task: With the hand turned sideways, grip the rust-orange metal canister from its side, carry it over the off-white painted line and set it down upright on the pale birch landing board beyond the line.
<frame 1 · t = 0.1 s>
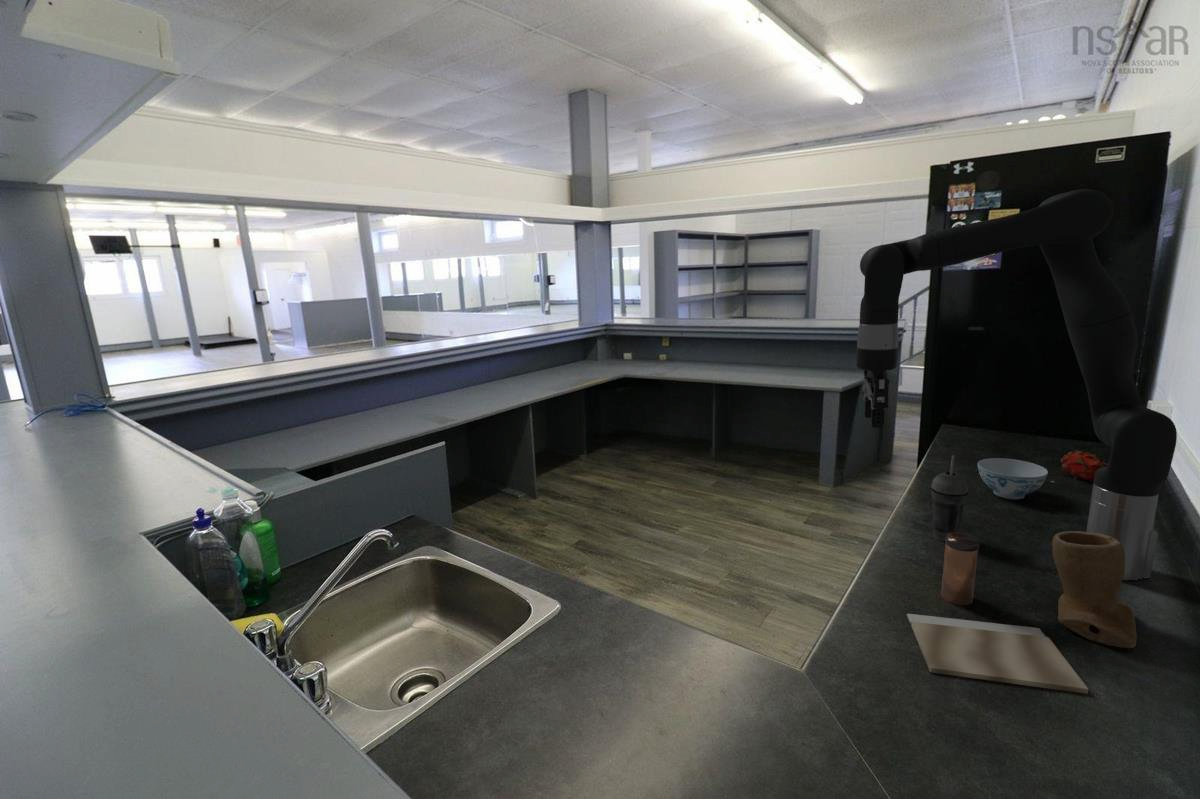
hand: (873, 422, 117), 29 cm above the countertop, tool pointing down, fingers open, 8 cm apart
chinaware: (1008, 495, 148), on the countertop
canister: (956, 597, 104), on the countertop
brown hollow flared piece: (1086, 622, 95), on the countertop
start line: (973, 626, 95), on the countertop
landing board: (991, 656, 88), on the countertop
beverage cup: (944, 538, 127), on the countertop
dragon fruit: (1084, 479, 157), on the countertop
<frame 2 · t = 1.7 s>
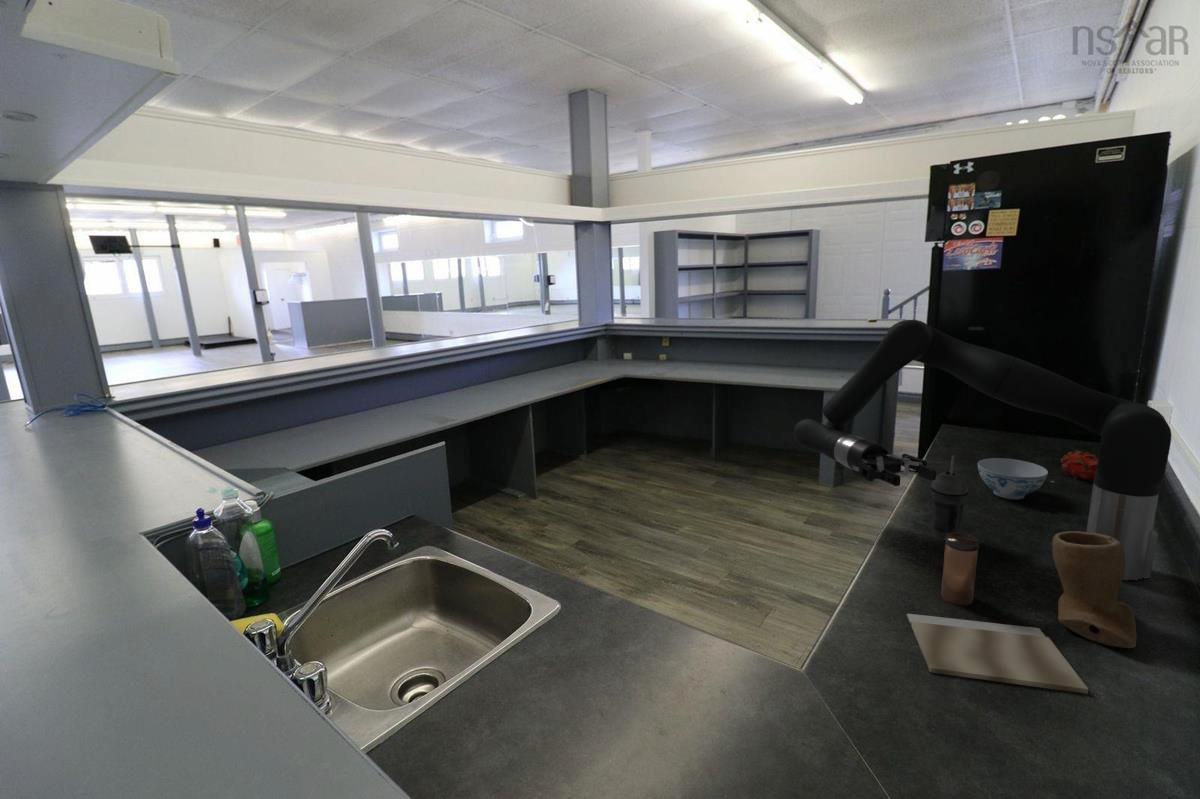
hand: (916, 478, 110), 20 cm above the countertop, tool horizontal, fingers open, 8 cm apart
nothing on the countertop moved.
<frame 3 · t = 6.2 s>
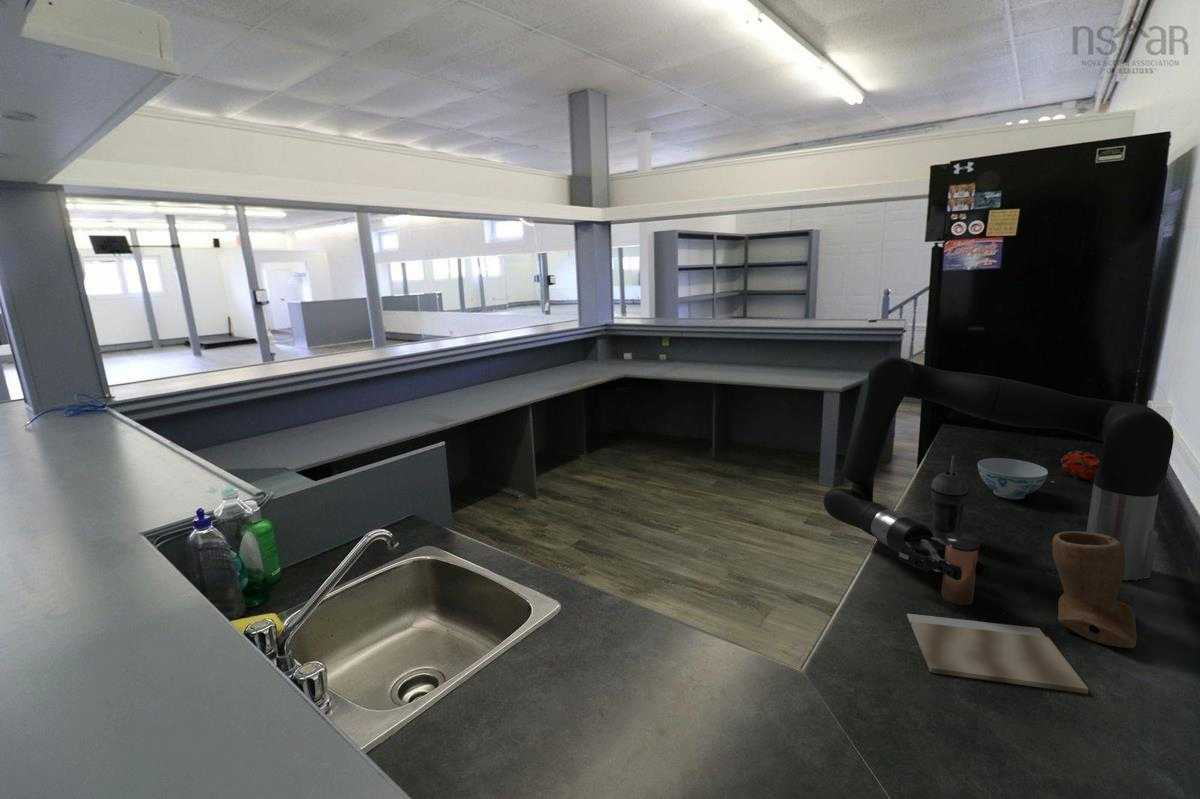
hand: (972, 572, 100), 7 cm above the countertop, tool horizontal, fingers closed on canister, 5 cm apart
canister: (956, 597, 104), on the countertop, touching gripper
everything else where it was.
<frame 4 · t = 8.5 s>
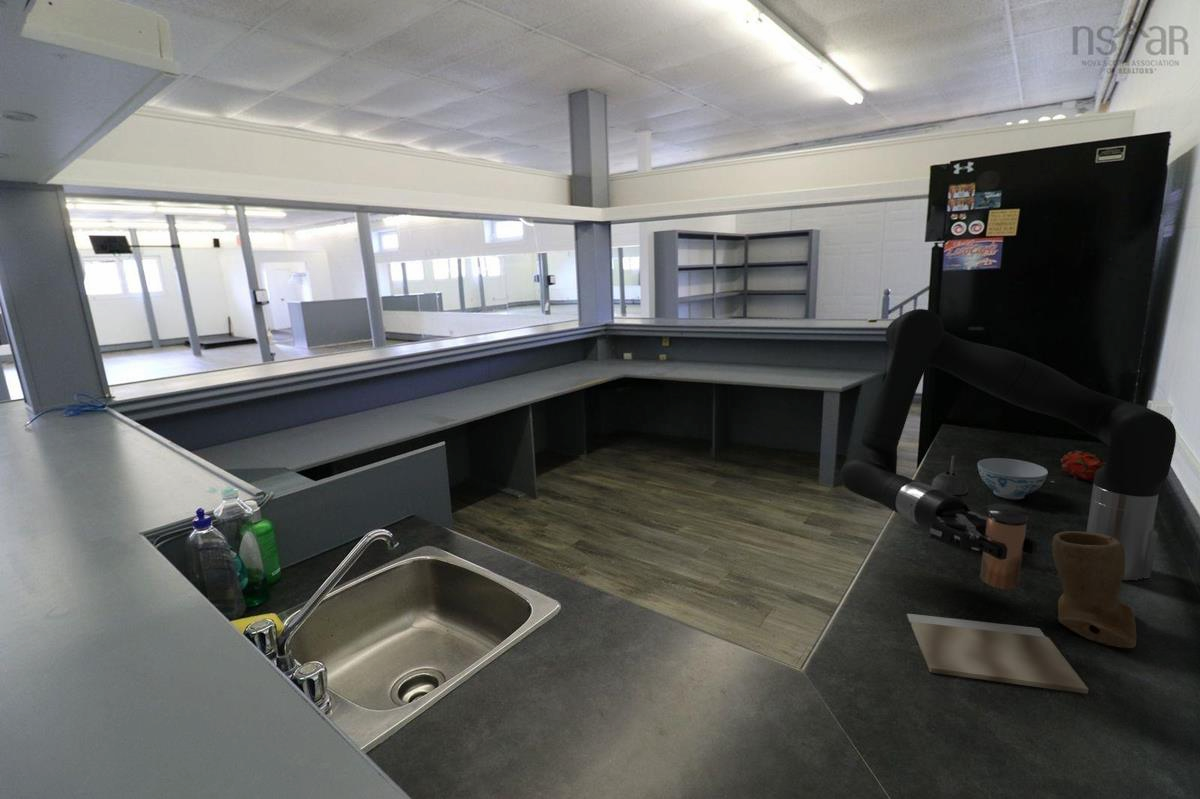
hand: (1019, 550, 85), 18 cm above the countertop, tool horizontal, fingers closed on canister, 5 cm apart
canister: (998, 580, 88), point 11 cm above the countertop, touching gripper
everything else where it was.
when the fingers open (9 cm above the countertop, at t = 11.3 s): canister drops 1 cm, resting on landing board.
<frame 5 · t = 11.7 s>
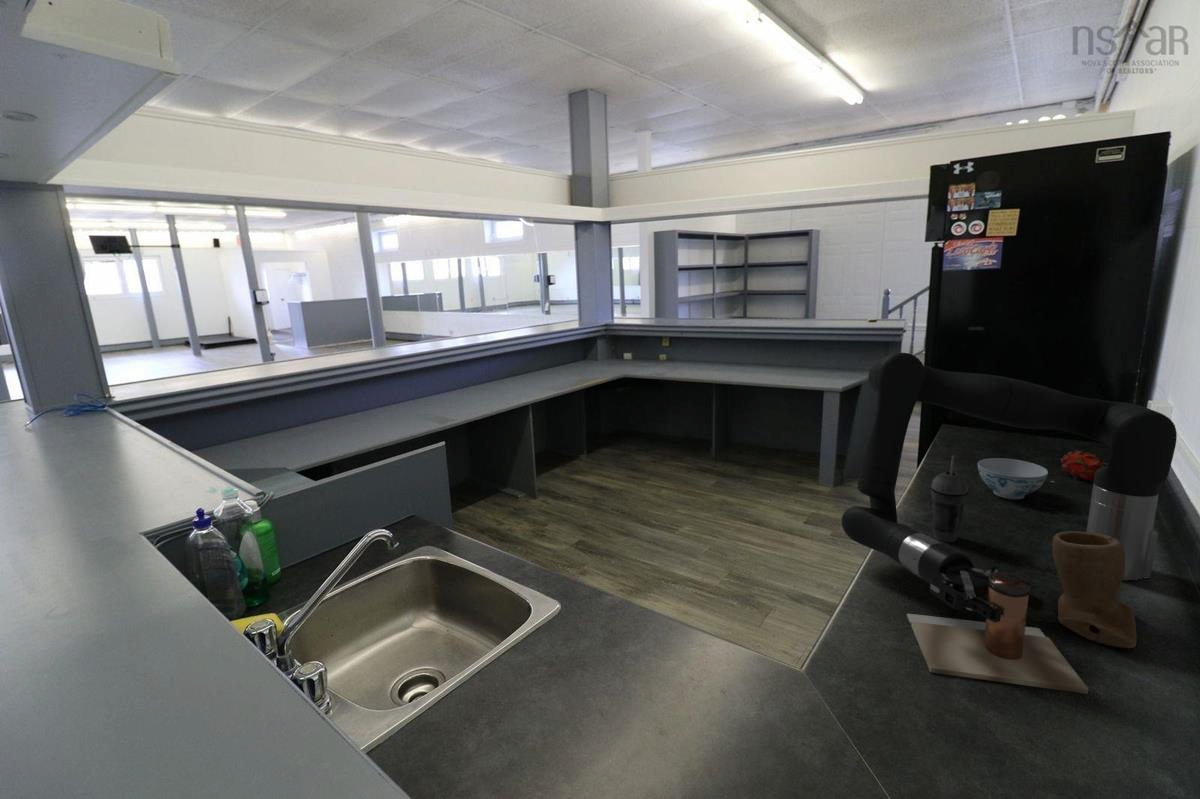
hand: (1021, 611, 85), 9 cm above the countertop, tool horizontal, fingers open, 8 cm apart
canister: (1003, 649, 88), point 1 cm above the countertop, touching landing board
everything else where it was.
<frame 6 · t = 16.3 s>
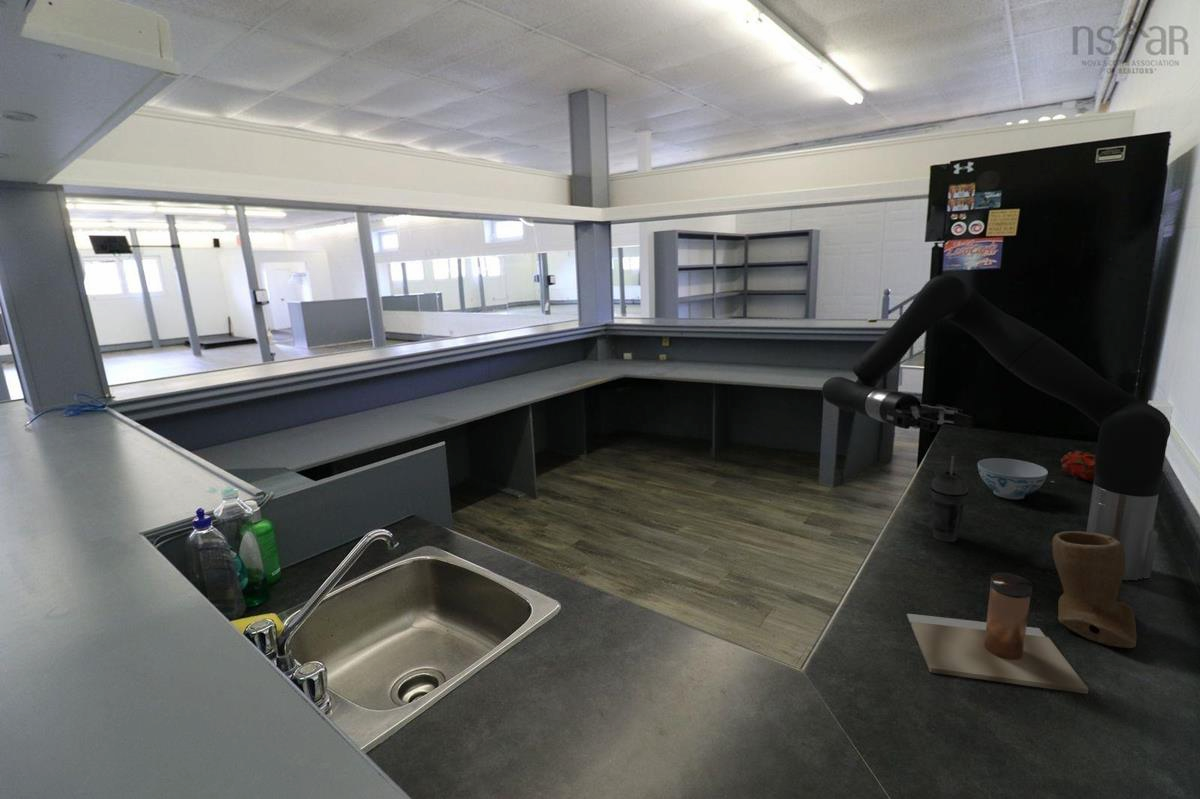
hand: (953, 424, 110), 30 cm above the countertop, tool horizontal, fingers open, 8 cm apart
nothing on the countertop moved.
at the end: canister inside the target area (2.7 cm from its centre), point 0.8 cm above the countertop; canister tilted 1°; the gripper is holding nothing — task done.
